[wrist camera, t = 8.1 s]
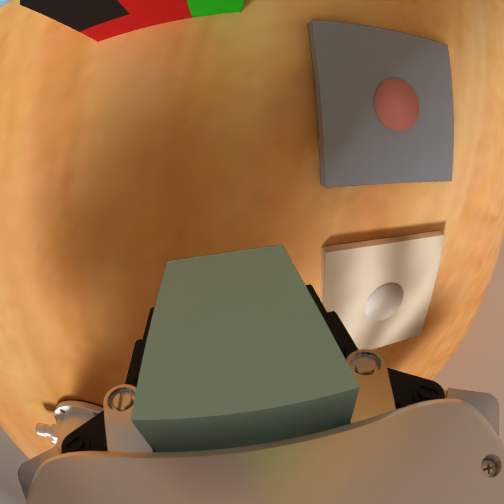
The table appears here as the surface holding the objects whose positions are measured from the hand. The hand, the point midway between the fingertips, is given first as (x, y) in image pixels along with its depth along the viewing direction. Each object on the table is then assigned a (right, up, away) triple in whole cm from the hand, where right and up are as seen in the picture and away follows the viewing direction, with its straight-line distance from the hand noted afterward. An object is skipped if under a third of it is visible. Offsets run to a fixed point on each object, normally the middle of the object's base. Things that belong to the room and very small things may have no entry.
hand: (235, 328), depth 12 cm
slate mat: (+11, +14, +6) cm, 19 cm away
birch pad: (+13, -1, +14) cm, 19 cm away
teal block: (0, +1, +2) cm, 2 cm away
